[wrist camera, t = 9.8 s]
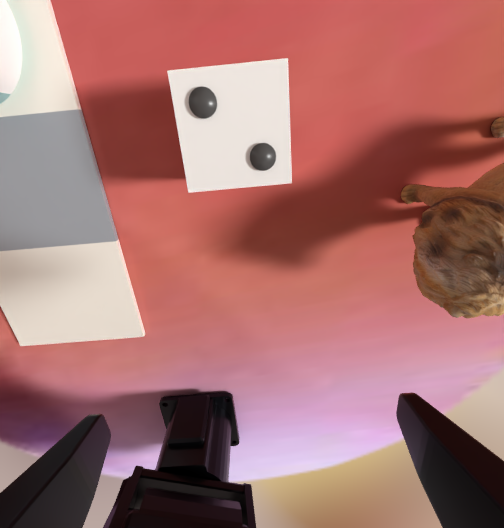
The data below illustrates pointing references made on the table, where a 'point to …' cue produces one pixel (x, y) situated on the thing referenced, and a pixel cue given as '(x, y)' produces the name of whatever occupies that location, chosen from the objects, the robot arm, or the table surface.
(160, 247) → the table surface
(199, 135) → the die
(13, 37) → the can
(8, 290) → the board
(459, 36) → the table surface
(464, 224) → the lion figurine
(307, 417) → the table surface
